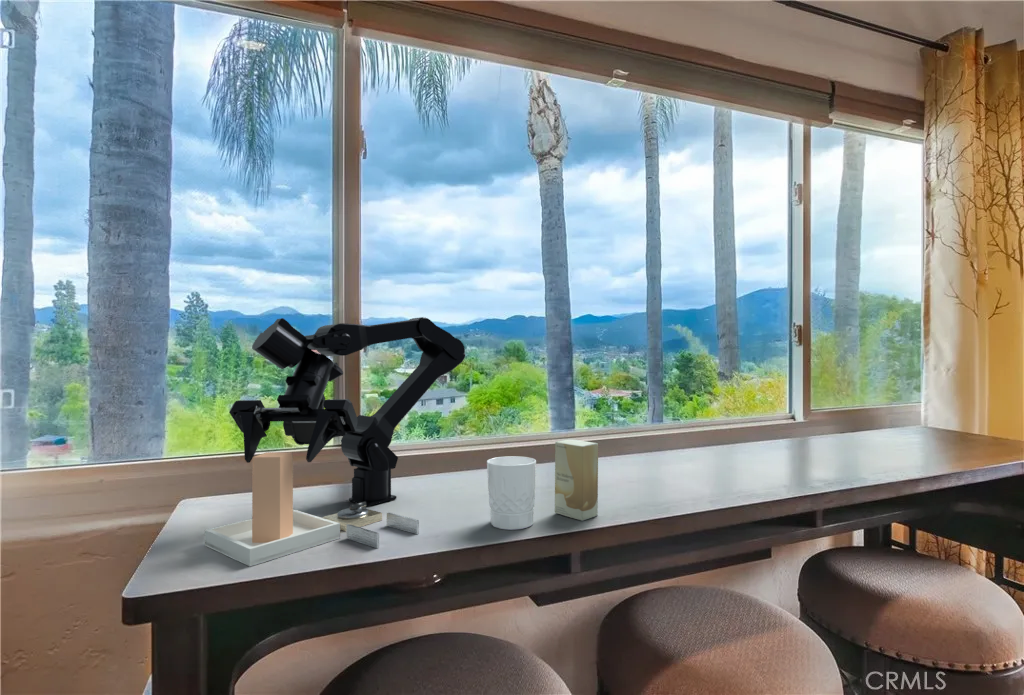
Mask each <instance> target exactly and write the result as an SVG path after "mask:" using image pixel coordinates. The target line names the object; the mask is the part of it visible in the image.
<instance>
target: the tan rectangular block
mask: <svg viewBox="0 0 1024 695" xmlns="http://www.w3.org/2000/svg"><path fill="white" fill-rule="evenodd" d="M251 461H252V462H251V463H252V467H251V468H252V473H251V474H252V477H251V478H252V480H251V483H252V484H251V485H252V486H251V487H252V488H251V490H252V491H251V492H252V493H251V494H252V497H251V498H252V500H251V501H252V503H251V506H252V507H251V508H252V509H251V513H252V514H251V517H252V518H251V519H252V543H268V542H271V541H275V540H278V539H282V538H285V537H289V536H290V535H291V534H293V509H294V452H292V451H291V452H288V451H287V452H284V451H283V452H282V451H281V452H280V451H278V452H277V451H275V452H274V451H273V452H266V451H265V453H261V454H257V455H254V456H253V457H252V460H251Z"/></svg>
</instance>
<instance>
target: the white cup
mask: <svg viewBox="0 0 1024 695" xmlns="http://www.w3.org/2000/svg"><path fill="white" fill-rule="evenodd" d="M486 469H487V470H486V471H487V488H488V490H487V491H488V497H489V498H488V502H489V507H490V508H489V510H490V513H489V514H490V525H491V526H493V527H494V528H496V529H500V530H509V531H510V530H512V531H515V530H523V529H526V528H530V527H531V526H533V523H534V515H535V514H534V511H535V510H534V508H535V505H536V504H535V503H536V502H535V500H536V479H537V478H536V476H537V475H536V474H537V473H536V472H537V460H536V459H535V458H533V457H528V456H517V455H516V456H515V455H513V456H511V455H509V456H498V457H493V458H489V459H487V460H486Z"/></svg>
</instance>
